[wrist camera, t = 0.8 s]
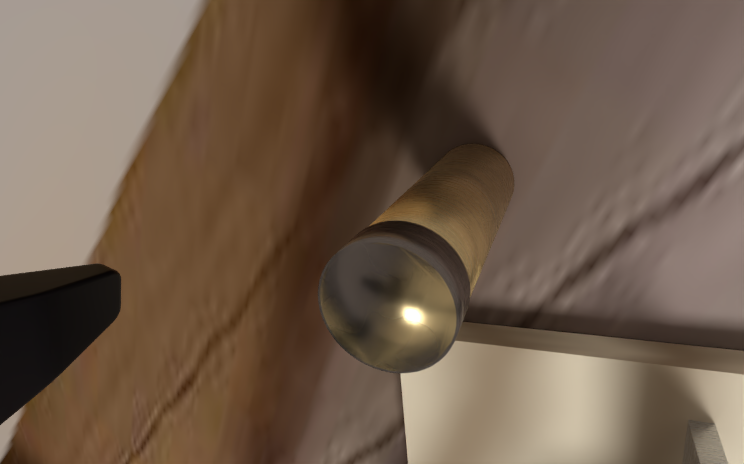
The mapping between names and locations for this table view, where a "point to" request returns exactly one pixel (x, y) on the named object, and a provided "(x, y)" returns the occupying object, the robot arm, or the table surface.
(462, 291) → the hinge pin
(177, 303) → the table surface
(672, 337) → the table surface
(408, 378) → the beige panel with ridges
